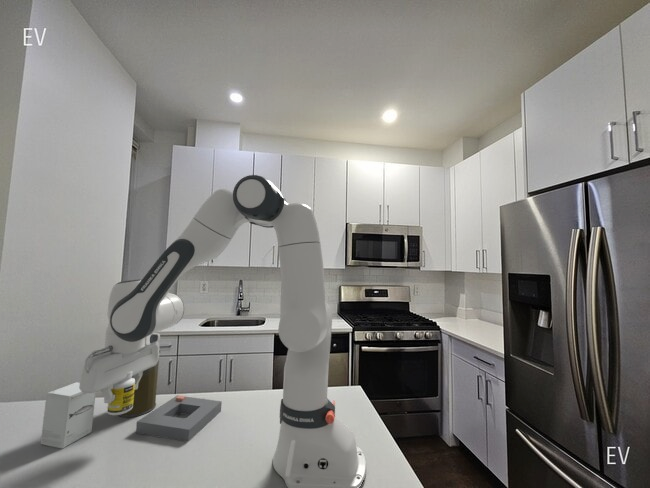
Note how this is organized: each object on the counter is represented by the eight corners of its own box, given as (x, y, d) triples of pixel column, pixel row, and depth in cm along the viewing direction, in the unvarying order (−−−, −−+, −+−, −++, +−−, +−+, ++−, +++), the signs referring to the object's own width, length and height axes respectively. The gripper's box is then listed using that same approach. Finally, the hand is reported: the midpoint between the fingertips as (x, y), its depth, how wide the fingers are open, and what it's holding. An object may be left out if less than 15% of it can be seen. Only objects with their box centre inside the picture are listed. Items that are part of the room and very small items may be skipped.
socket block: (220, 411, 90) (221, 398, 90) (188, 441, 74) (189, 426, 74) (176, 404, 92) (177, 392, 93) (135, 433, 77) (137, 418, 77)
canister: (132, 420, 82) (138, 351, 84) (108, 413, 86) (114, 346, 87) (164, 404, 93) (169, 342, 94) (141, 398, 96) (146, 338, 98)
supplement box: (62, 449, 69) (68, 396, 70) (39, 444, 71) (45, 392, 72) (92, 432, 76) (97, 384, 77) (71, 428, 78) (76, 381, 79)
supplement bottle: (123, 416, 70) (126, 375, 71) (101, 415, 70) (105, 375, 71) (138, 405, 75) (140, 368, 76) (118, 404, 75) (121, 367, 76)
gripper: (98, 354, 63) (92, 418, 62) (164, 333, 83) (161, 381, 82) (74, 352, 64) (69, 415, 63) (146, 331, 84) (142, 379, 83)
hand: (121, 395), depth 73 cm, fingers closed on supplement bottle, 5 cm apart
